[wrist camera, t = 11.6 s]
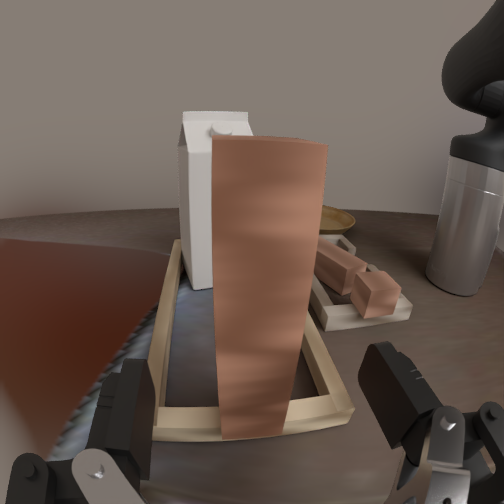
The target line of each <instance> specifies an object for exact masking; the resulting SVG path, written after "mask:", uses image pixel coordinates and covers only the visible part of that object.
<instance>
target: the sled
mask: <svg viewBox="0 0 504 504" xmlns="http://www.w3.org/2000/svg"><path fill="white" fill-rule="evenodd" d="M327 152H328V145H326V144H321V143H317V142H313V141H308V140H303V139H298V138H288V137H271V136H244V135H212V163H211V223H212V275H213V305H214V329H215V349H216V367H217V382H218V397H219V407H165V396H166V384H167V374H168V364H169V354H170V346H171V337H172V329H173V321H174V314H175V306H176V299H177V292H178V286H179V279H180V273H181V267H182V250H181V239H175V241H174V244H173V248H172V252H171V256H170V260H169V264H168V268H167V272H166V276H165V280H164V285H163V289H162V293H161V297H160V302H159V306H158V311H157V315H156V320H155V325H154V330H153V335H152V340H151V345H150V350H149V355H148V361H147V362H148V365H149V369H150V373H151V376H152V380H153V383H154V387H155V394H156V404H155V413H154V423H153V434H152V440H153V441H180V442H202V441H229V440H244V439H255V438H265V437H273V436H281V435H288V434H295V433H301V432H307V431H313V430H318V429H323V428H328V427H333V426H337V425H342V424H346V423H348V421H349V419H350V417H351V415H352V413H353V411H354V409H355V408H354V406H353V404H352V401H351V399H350V397H349V395H348V393H347V391H346V389H345V387H344V384H343V382H342V380H341V378H340V376H339V374H338V372H337V370H336V368H335V365H334V363H333V361H332V359H331V357H330V355H329V353H328V351H327V349H326V347H325V345H324V343H323V341H322V339H321V336H320V334H319V332H318V330H317V328H316V326H315V324H314V322H313V320H312V318H311V316H310V314H309V312H308V304H309V298H310V292H311V286H312V279H313V273H314V266H315V259H316V252H317V245H318V237H319V229H320V221H321V213H322V204H323V194H324V185H325V174H326V164H327ZM300 349H302V352H303V354H304V357H305V360H306V362H307V365H308V367H309V370H310V372H311V375H312V378H313V380H314V383H315V385H316V388H317V391H318V393H319V396H317V397H311V398H305V399H298V400H290V397H291V393H292V388H293V383H294V379H295V374H296V369H297V364H298V359H299V354H300Z"/></svg>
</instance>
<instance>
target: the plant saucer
mask: <svg viewBox="0 0 504 504" xmlns="http://www.w3.org/2000/svg"><path fill="white" fill-rule="evenodd" d="M354 224H355V219H354V217H353V216H351V215H350V214H349V213H347V212H345V211H342V210H339V209H337V208H333V207H329V206H324V205H322V213H321V221H320V229H319V235H341V234H343V233H344V232H346V231H347V230H349V229H350V228H351V227H352V226H353V225H354Z"/></svg>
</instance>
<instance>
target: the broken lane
mask: <svg viewBox="0 0 504 504" xmlns="http://www.w3.org/2000/svg"><path fill="white" fill-rule="evenodd" d="M355 252H356V247H355V246H353V245H352V244H351V243H350V242H349V241H348V240H347V239H346V238H345V237H344V236H343V235H319V237H318V245H317V252H316V259H315V266H314V273H313V279H312V286H311V292H310V298H309V302H310V304H311V306H312V308H313V310H314V312H315V313H316V315H317V317H318V319H319V321H320V323H321V325H322V327H323V329H324V331H325V332H326V331H335V330H343V329H351V328H358V327H365V326H372V325H378V324H385V323H391V322H397V321H403V320H408V319H409V316H410V313H411V310H412V308H413V305H412V304H411V303H410V302H409V301H408V300H407V299H406V298H405V297H404V295H403V294H402V293H401V292H400V291H401V287H400V286H399V285H398V284H397V283H396V282H395V281H394V280H393V279H392V278H391V277H390V276H389V275H388V274H387V273H386V272H385V271H379V270H378V269H377V268H376V267H375V266H374V265H373V264H371V265H367V263H366V262H364V261H362V260H361V259H359V258H357V257H356V256H355ZM316 277H317V278H318V279H319V280H321V281H322V282H323V283H325V284H326V285H328V286H329V287H330V288H332V289H333V290H335V291H336V292H337V293H339V294H340V295H341V296H342V295H345V294H348V293H351V295H350V300H351V301H352V303H353V304H345V305H335V306H334V304H333V303H332V301H331V300H330V298H329V297H328V295H327V293H326V292H325V290H324V289H323V287H322V286H321V284H320V282H319V281H318V279H317V278H316Z"/></svg>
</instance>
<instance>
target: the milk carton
mask: <svg viewBox="0 0 504 504" xmlns="http://www.w3.org/2000/svg"><path fill="white" fill-rule="evenodd" d="M212 135H244V136H253V134H252V131H251V129H250V126H249V124H248V113H247V112H221V111H191V112H183V122H182V128H181V133H180V138H179V143H178V181H179V213H180V233H181V250H182V262H183V265H184V268H185V270H186V273H187V275H188V278H189V280H190V283H191V285H192V287H193V289H194V290H199V289H205V288H212V287H213V275H212V223H211V163H212Z"/></svg>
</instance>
